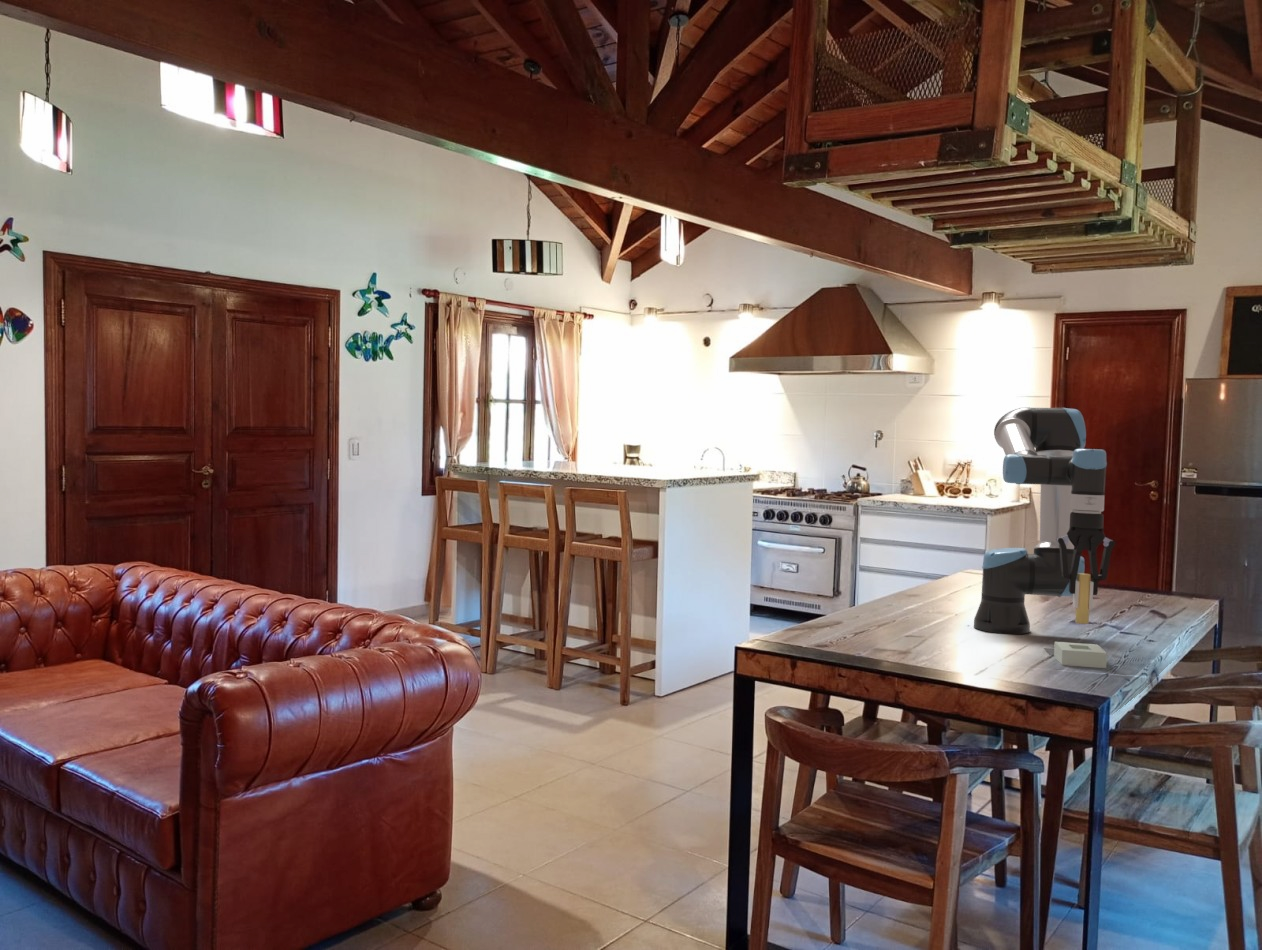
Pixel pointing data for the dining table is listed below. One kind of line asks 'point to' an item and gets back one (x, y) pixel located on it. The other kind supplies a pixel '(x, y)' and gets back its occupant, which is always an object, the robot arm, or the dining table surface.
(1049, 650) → the mat
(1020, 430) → the robot arm
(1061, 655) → the hole block
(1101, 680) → the dining table surface
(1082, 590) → the peg
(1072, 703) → the dining table surface
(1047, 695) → the dining table surface
